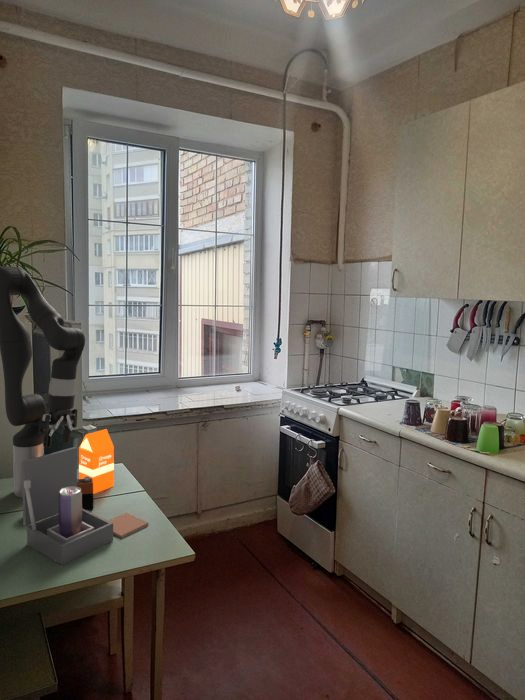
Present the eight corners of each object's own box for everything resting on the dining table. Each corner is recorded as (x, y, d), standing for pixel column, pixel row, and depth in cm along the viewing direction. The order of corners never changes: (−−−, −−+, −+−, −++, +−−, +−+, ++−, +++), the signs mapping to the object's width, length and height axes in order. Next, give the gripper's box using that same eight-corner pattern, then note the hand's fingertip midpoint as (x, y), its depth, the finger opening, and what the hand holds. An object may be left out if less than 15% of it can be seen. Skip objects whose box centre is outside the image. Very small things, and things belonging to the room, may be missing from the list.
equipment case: (23, 542, 138) (20, 461, 135) (75, 520, 151) (74, 446, 148) (61, 565, 128) (59, 479, 125) (113, 540, 141) (113, 461, 138)
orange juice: (78, 488, 174) (78, 432, 171) (100, 480, 181) (99, 426, 178) (93, 494, 169) (92, 437, 167) (114, 486, 177) (114, 431, 174)
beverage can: (59, 549, 135) (58, 496, 133) (58, 538, 141) (58, 487, 139) (83, 545, 138) (82, 493, 136) (81, 535, 143) (81, 484, 141)
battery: (93, 510, 158) (93, 480, 157) (70, 513, 156) (69, 482, 154) (92, 504, 162) (92, 474, 161) (70, 506, 160) (69, 476, 158)
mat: (99, 527, 148) (99, 524, 148) (126, 515, 156) (126, 512, 156) (121, 538, 142) (121, 535, 142) (148, 525, 150) (148, 522, 150)
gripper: (66, 388, 161) (61, 438, 161) (34, 393, 147) (29, 447, 148) (87, 392, 158) (81, 442, 159) (56, 397, 145) (50, 452, 146)
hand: (56, 444), depth 154 cm, fingers open, 8 cm apart
